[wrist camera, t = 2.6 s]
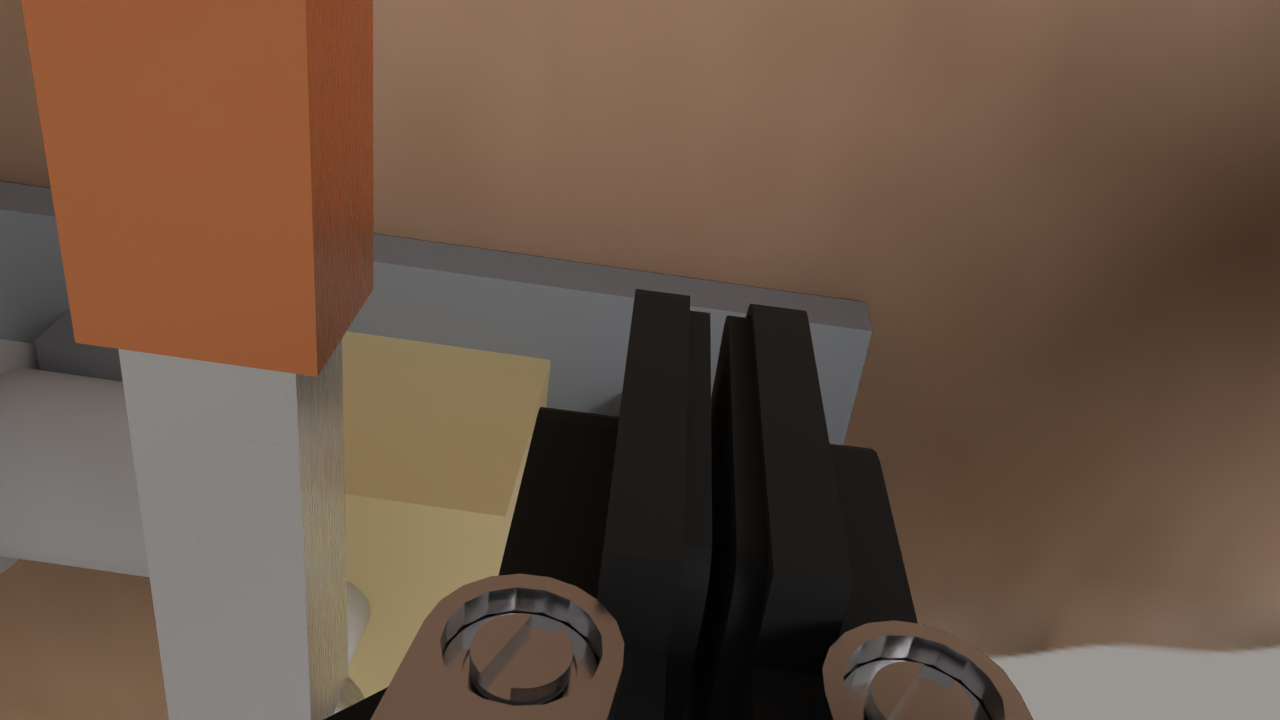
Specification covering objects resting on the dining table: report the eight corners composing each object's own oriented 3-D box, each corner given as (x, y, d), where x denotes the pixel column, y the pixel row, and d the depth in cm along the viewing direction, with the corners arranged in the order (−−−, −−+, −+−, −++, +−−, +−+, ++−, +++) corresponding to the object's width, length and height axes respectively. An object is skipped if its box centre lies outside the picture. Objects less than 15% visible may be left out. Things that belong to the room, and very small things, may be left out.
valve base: (866, 302, 28) (926, 577, 19) (790, 604, 33) (811, 933, 24) (-14, 179, 28) (-363, 395, 19) (47, 499, 33) (-207, 787, 24)
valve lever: (372, -234, 13) (298, -224, 11) (374, 763, 22) (334, 881, 20) (106, -271, 13) (-22, -268, 11) (215, 740, 22) (156, 856, 20)
